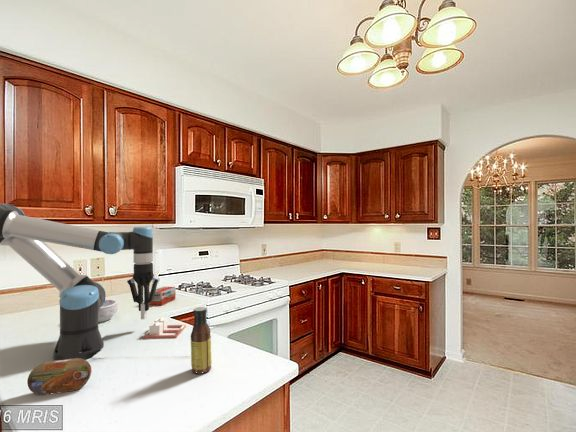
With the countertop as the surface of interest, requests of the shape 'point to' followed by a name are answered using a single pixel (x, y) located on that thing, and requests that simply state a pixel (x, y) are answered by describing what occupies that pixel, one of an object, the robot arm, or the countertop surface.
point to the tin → (59, 376)
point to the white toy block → (163, 322)
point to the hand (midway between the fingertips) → (143, 318)
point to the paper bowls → (107, 310)
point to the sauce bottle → (200, 342)
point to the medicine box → (163, 296)
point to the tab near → (156, 328)
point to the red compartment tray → (167, 332)
